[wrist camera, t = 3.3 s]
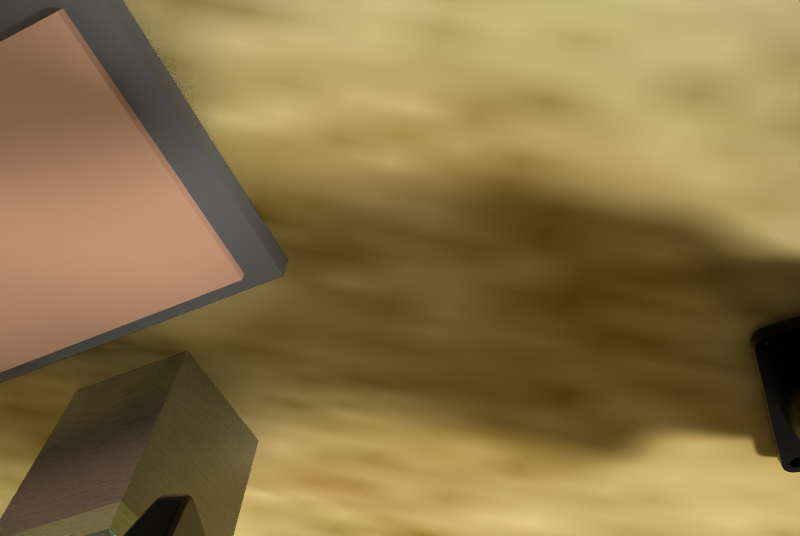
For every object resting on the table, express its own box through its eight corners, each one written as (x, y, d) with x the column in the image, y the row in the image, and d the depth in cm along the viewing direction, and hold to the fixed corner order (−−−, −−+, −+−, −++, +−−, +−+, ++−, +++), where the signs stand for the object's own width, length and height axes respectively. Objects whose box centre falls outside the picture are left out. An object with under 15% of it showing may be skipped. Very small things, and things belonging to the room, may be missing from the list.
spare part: (260, 440, 25) (210, 633, 19) (153, 474, 26) (75, 665, 20) (188, 348, 23) (105, 535, 17) (75, 389, 24) (-39, 577, 18)
